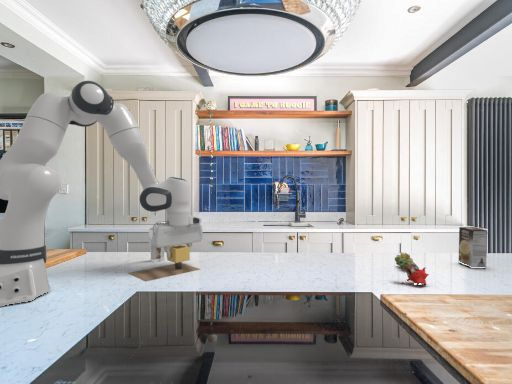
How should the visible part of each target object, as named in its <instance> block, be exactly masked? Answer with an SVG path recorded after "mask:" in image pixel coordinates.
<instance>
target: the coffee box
mask: <svg viewBox="0 0 512 384" xmlns="http://www.w3.org/2000/svg"><path fill="white" fill-rule="evenodd" d="M458 236H459V237H458V242H459V243H458V262H459V261H460V262H462V263H464V264H467V265H469V266H471V267H486V268H487V257H488V256H487V251H488V249H487V248H488V229H483V228H480V227H479V228H478V227H475V226H469V227H468V226H459V233H458Z"/></svg>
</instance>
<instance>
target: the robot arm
mask: <svg viewBox="0 0 512 384" xmlns="http://www.w3.org/2000/svg"><path fill="white" fill-rule="evenodd" d="M96 123H98V124H100V125H101V126H102V127H103V128H104V130H105V131H106V134H107V136H108V139H109V142H110V143H111V145H112V146H113V148H114V150H115V151H116V152H117V154H118V155H119V157H120V158H122V159H123V160H124V161H126V163H128V164H129V165H130V167H132V169H133V170H134V172H135V174H136V176H137V178H138V181H139V184H140V185H141V187H142V190H141V192H140V195H139V204H140V206H141V207H142V208H143V209H144V210H146V211H147V212H151V213H156V212H159V211H163V210H165V212H166V213H165V214H166V215H165V216H166V217H165V218H166V219H165V220H164V221H157V222H156V223H154V224H153V225H152V228H153V236H152V245H153V246H154V247H156V248H161V247H164V250H165V251H164V253H166V259H167V258H172V257H173V256H172V255H173V253H170V251H169V249H170V247H172V246H178V245H186V247H190V250H191V249H192V246H193V243H199V242H202V240H203V227H202V218H201V217H199V216H194V215H191V209H190V202H191V189H190V187H191V186H190V183H189V181H188V180H186V179H184V178H180V177H175V176H170V177H168V178H167V179H165V180H164V181H161V182H159V181H158V179H157V176H156V175H155V172H154V170H153V169H152V166H151V164H150V162H149V158H148V153H147V148H146V145H145V140H144V138H143V134H142V130H140V127H139V125H138V123H137V121H136V119H135V117H134V116H133V114H132V112H131V111H130V110H129V108H128V107H127V105H125V104H123V103H120V102H114V98H113V97H112V96H111V95H109V94H108V92H107V90H105V88H104V87H103V86H101V84H99V83H97V82H95V81H92V80H84V81H80V82H78V83H77V84H76V85H75V86H74V87H73V88H72V90H71V93H70V95H69V96H63V95H60V94H57V93H53V92H44V93H42V94H40V95H39V96H38V97H37V98H36V100H35V102H34V103H33V104H32V106H31V107H30V109H29V111H28V112H27V114H26V116H25V118H24V121H23V122H22V125H21V127H20V129H19V131H18V134H17V135H16V138H15V140H14V141H13V143H12V144H11V146H9V148H8V150H7V151H6V152H5V153H4V154H3V156H2V157H1V158H0V199H1V200H4V201H8V202H7V206H6V210H5V212H4V214H3V216H2V217H1V218H0V307H6V306H5V305H7V306H10V305H9V304H13V305H15V304H14V303H20V304H22V303H21V302H26V303H29V302H28V301H31V302H33V301H35V300H36V299H37V298H36V297H38V296H40V295H42V294H44V293H46V294H48V293H49V292H51V290H52V289H51V285H50V283H49V279H48V273H47V267H46V266H47V265H46V263H47V258H48V257H47V255H48V254H47V253H48V252H47V251H48V250H47V245H45V229H46V228H45V227H46V226H45V225H46V223H45V222H46V216H47V213H48V209H49V207H50V204H51V201H52V199H53V198H54V197H55V196H56V195H57V194H58V193H59V191H60V189H61V185H62V180H61V176H60V175H59V173H58V172H57V171H56V170H55V169H54V168H52V167H50V166H47V163H49V161H51V160H52V159H53V158H54V157H56V155H57V154H58V152H59V150H60V147H61V144H62V141H63V139H64V137H65V136H66V135H65V134H66V132H67V129H68V127H69V125H72V126H77V127H82V128H86V127H91V126H93V125H95V124H96ZM50 289H51V290H50ZM48 291H49V292H48ZM47 292H48V293H47ZM44 295H45V294H44ZM42 296H43V295H42ZM40 297H41V296H40ZM35 298H36V299H35ZM38 298H39V297H38ZM34 299H35V300H34ZM32 300H33V301H32Z"/></svg>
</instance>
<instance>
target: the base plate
mask: <svg viewBox="0 0 512 384" xmlns="http://www.w3.org/2000/svg"><path fill="white" fill-rule="evenodd" d="M200 270H201V268H200V267H199V268H198V267H196V266H192V265H189V264H186V263H183V262H179V263H173V264H166V265H162V266H157V267H151V268H146V269H142V270H137V271H132V272H131V271H130V272H127V274H129V275H131V276H133V277H135V278H137V279H138V280H139V279H140V280H142V281H144V282H151V281H154V280H159V279H163V278H169V277H173V276H177V275H182V274H185V273H186V274H187V273H192V272H195V271H200Z"/></svg>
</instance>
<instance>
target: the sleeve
mask: <svg viewBox="0 0 512 384" xmlns="http://www.w3.org/2000/svg"><path fill="white" fill-rule="evenodd" d="M169 251H170V253H173V255H172V256H173V257H172V258H167V257H166V259H167V260H166V261H169V262H170V263H171V262H172V263H173V264H175V263H179V262H182V263H183V262H188V261H190V258H191V257H190V253H191V252H190V251H191V249H190V247H187V245H186V246H185V245H183V244H181V245H174V246H170V249H169Z"/></svg>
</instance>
